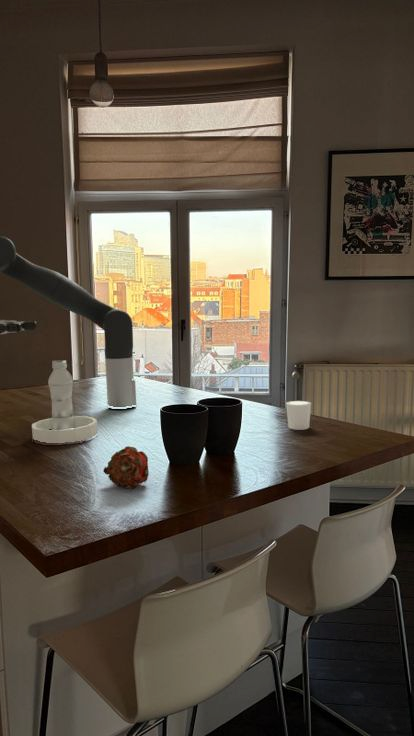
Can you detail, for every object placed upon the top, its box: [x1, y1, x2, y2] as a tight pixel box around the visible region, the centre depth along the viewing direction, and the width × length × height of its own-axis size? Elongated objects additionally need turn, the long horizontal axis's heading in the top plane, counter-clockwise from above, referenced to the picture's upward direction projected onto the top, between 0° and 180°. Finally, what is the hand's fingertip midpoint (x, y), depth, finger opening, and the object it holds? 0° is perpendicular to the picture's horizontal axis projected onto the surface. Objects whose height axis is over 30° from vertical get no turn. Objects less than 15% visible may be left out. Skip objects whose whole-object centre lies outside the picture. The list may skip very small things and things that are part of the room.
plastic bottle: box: [47, 359, 76, 430], centre depth 151 cm, size 6×7×20 cm
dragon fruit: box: [103, 445, 150, 490], centre depth 112 cm, size 8×8×12 cm
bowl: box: [31, 415, 99, 443], centre depth 152 cm, size 17×17×4 cm
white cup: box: [285, 400, 312, 431], centre depth 155 cm, size 7×7×7 cm
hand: (28, 326), depth 157 cm, fingers open, 8 cm apart
